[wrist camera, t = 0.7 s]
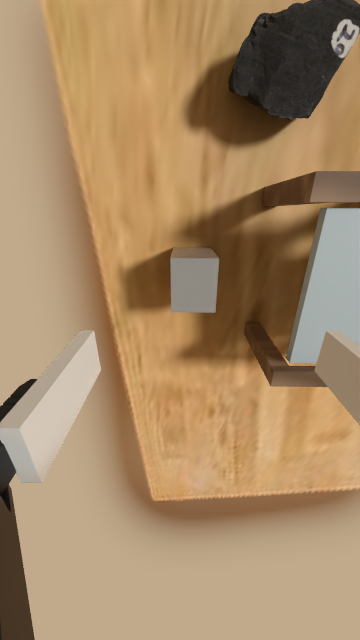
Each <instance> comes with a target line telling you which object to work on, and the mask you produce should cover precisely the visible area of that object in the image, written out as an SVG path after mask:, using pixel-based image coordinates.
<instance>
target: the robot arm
mask: <svg viewBox="0 0 360 640" xmlns="http://www.w3.org/2000/svg"><path fill="white" fill-rule="evenodd" d="M100 371H101V367H100V362H99V357H98V351H97V345H96V339H95V334H94V330H80V331H79V333H78V334H77V335H76V336H75V337H74V338H73V340H72V341H71V342H70V343H69V344H68V345H67V346H66V347H65V349H64V350H63V351H62V352H61V353H60V354H59V355H58V357H57V358H56V359H55V360H54V361H53V362H52V364H51V365H50V366H49V367H48V368H47V369H46V370H45V372H44V373H43V374H42V375H41V376H40V377H39V378H38V379H30V380H29V381H27V382H26V383H24V384H22V385H21V386H19V387H18V388H17V389H16V391H15V392H14V393H13V394H12V395H11V397H10V398H8V399H7V400H6V401H5V402H4V403H3V405H2V406H0V640H35V639H34V634H33V627H32V620H31V613H30V607H29V601H28V594H27V587H26V581H25V575H24V568H23V562H22V555H21V549H20V542H19V536H18V529H17V523H16V516H15V510H14V504H13V497H12V491H11V488H10V486H9V483H10V481H11V480H12V478H13V476H14V475H15V473H16V474H17V476H18V478H19V480H20V482H21V483H42V482H43V480H44V478H45V476H46V474H47V472H48V470H49V468H50V466H51V465H52V462H53V461H54V459H55V457H56V455H57V453H58V451H59V449H60V447H61V445H62V444H63V442H64V440H65V438H66V436H67V434H68V432H69V430H70V428H71V426H72V424H73V422H74V420H75V419H76V417H77V415H78V413H79V411H80V409H81V407H82V405H83V403H84V401H85V400H86V398H87V395H88V394H89V392H90V390H91V388H92V386H93V384H94V382H95V380H96V378H97V376H98V375H99V373H100ZM314 371H315V372H316V373H317V374H318V376H319V377H320V378H321V379H322V380H323V382H324V383H325V384H326V385H327V386H328V388H329V389H330V390H331V391H332V392H333V394H334V395H335V396H336V397H337V398H338V400H339V401H340V402H341V403H342V404H343V406H344V407H345V408H346V409H347V410H348V412H349V413H350V414H351V415H352V417H353V418H354V419H355V420H356V421H357V423H358V424H359V425H360V346H359V345H358V344H357V343H355V342H354V341H353V340H351V339H350V338H349V337H347V336H346V335H345V334H343V333H342V332H341V331H326V333H325V336H324V340H323V343H322V346H321V350H320V353H319V357H318V360H317V364H316V367H315V370H314Z"/></svg>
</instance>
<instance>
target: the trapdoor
mask: <svg viewBox="0 0 360 640" xmlns="http://www.w3.org/2000/svg"><path fill="white" fill-rule="evenodd" d="M326 331H341V332H342V333H343V334H345V335H346V336H347V337H349V338H350V339H351V340H353V341H354V342H355V343H357V344H358V345H359V346H360V208H321V209H320V213H319V217H318V222H317V226H316V230H315V235H314V239H313V243H312V248H311V252H310V256H309V261H308V265H307V269H306V273H305V278H304V282H303V286H302V291H301V295H300V299H299V304H298V308H297V312H296V317H295V321H294V325H293V330H292V334H291V338H290V343H289V347H288V351H287V356H286V358H287V360H288V361H289V363H317V360H318V357H319V353H320V350H321V346H322V343H323V340H324V336H325V333H326Z"/></svg>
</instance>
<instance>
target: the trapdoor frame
mask: <svg viewBox="0 0 360 640" xmlns="http://www.w3.org/2000/svg"><path fill="white" fill-rule="evenodd" d="M315 203H360V171H316V172H313V173H310V174H306V175H303V176H300V177H296V178H293V179H290V180H287V181H283V182H280V183H277V184H274V185H270V186H267V187H264V193H263V200H262V206H285V205H300V204H315ZM245 336H246V338H247V340H248V342H249V344H250V346H251V348H252V350H253V352H254V354H255V356H256V358H257V360H258V362H259V364H260V366H261V368H262V370H263V372H264V374H265V376H266V378H267V380H268V382H269V384H270V386H289V387H328V386H327V385H326V384H325V383H324V382H323V380H322V379H321V378H320V377H319V376H318V374H317V373H316V372H315V371H314V370H315V367H316V366H289V365H288V364H287V362H286V361H285V359H284V358H283V357H282V355H281V354H280V352H279V351H278V349H277V348H276V346H275V345H274V344H273V342H272V341H271V339H270V338H269V336H268V335H267V333H266V332H265V330H264V329H263V328H262V326H261V325H260V323H246V327H245Z"/></svg>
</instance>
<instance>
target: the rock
mask: <svg viewBox="0 0 360 640" xmlns="http://www.w3.org/2000/svg"><path fill="white" fill-rule="evenodd" d="M359 33H360V4H358V3H357V2H356V1H354V0H311V1H308V2H306V3H304V4H301V3H295V4H292V5H291V6H290V7H289V8H288V9H285V10H283V11H281V12H278V13H271V14H269V13H262V14H260V15H259V16H258V17H257V19H256V21H255V22H254V24H253V26H252V28H251V31H250V33H249V35H248V37H247V38H246V39H245V40H244V42H243V43H242V46H241V48H240V51H239V54H238V56H237V60H236V62H235V65H234V67H233V70H232V72H231V75H230V77H229V81H228V83H229V90H230V91H232V92H234V93H237V95H240V96H247V100H248V101H249V102H251V103H253V104H254V105H256V106H258V107H260V108H262V109H263V110H265V111H266V112H267V113H269V114H270V115H271V116H274V117H278V118H286V119H295V118H309V117H310V116H311V114H312V112H313V111H314V109H315V108H316V106H317V105H318V103H319V102H320V100H321V98H322V97H323V95H324V92H325V90H326V88H327V86H328V85H329V83H330V81H331V79H332V77H333V76H334V74H335V73H336V71H337V70H338V68H339V67H340V65H341V63H342V61H343V60H344V58H345V57H346V55H347V54H348V52H349V51H350V49H351V47H352V45H353V43H354V41H355V40H356V38H357V37H358V35H359Z"/></svg>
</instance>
